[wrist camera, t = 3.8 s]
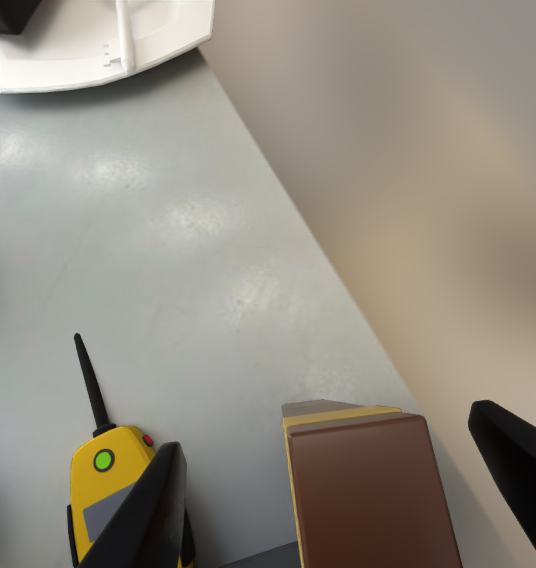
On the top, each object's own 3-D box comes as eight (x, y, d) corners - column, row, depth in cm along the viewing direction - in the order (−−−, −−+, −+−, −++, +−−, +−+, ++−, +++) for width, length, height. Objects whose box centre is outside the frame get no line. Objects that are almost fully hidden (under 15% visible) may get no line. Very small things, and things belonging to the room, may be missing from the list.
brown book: (367, 526, 11) (516, 751, 4) (297, 536, 11) (328, 777, 4) (344, 400, 12) (428, 411, 5) (281, 409, 12) (284, 430, 5)
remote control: (93, 705, 13) (21, 345, 18) (117, 670, 14) (44, 352, 20) (213, 632, 13) (108, 306, 19) (221, 607, 15) (123, 316, 20)
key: (85, -58, 24) (145, -62, 25) (91, -42, 25) (148, -46, 26) (92, 68, 21) (161, 61, 21) (98, 81, 22) (165, 74, 22)
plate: (246, 72, 24) (243, 46, 23) (-24, 139, 23) (-50, 117, 21) (191, -83, 30) (185, -115, 28) (-28, -36, 29) (-49, -66, 27)
